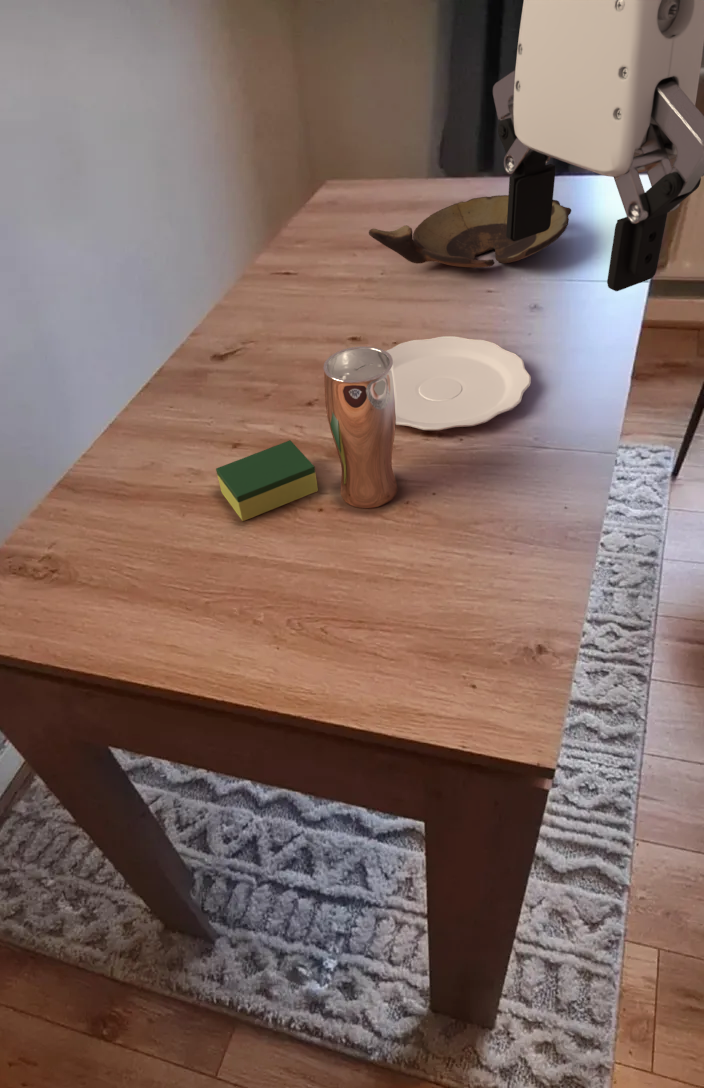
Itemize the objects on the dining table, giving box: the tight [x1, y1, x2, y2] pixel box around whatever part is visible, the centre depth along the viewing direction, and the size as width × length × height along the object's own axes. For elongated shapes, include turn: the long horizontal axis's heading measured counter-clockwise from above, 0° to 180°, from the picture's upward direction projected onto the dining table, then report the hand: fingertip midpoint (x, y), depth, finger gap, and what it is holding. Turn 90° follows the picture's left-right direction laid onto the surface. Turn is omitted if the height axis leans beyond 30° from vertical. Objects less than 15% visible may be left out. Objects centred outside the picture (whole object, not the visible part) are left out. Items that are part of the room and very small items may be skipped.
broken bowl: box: [368, 194, 572, 268], centre depth 121 cm, size 22×30×8 cm
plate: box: [385, 335, 532, 431], centre depth 97 cm, size 21×21×2 cm
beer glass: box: [322, 345, 398, 509], centre depth 80 cm, size 7×7×15 cm
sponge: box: [215, 439, 319, 522], centre depth 86 cm, size 9×6×3 cm, turn 117°
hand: (576, 257), depth 50 cm, fingers open, 9 cm apart
